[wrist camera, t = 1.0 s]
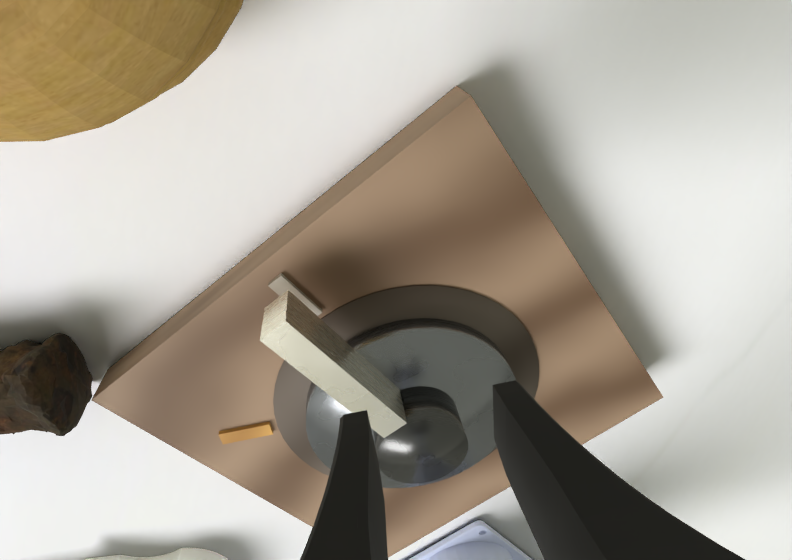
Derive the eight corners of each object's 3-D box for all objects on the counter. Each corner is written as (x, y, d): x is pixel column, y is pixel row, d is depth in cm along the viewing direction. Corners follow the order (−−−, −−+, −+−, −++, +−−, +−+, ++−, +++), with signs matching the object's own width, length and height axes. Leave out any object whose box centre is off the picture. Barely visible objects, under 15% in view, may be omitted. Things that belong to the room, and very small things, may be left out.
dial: (546, 402, 25) (572, 449, 22) (392, 496, 27) (400, 549, 24) (377, 207, 18) (387, 243, 16) (189, 354, 20) (171, 407, 18)
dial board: (642, 372, 28) (665, 399, 26) (373, 533, 32) (377, 567, 31) (456, 85, 19) (472, 96, 17) (108, 369, 23) (89, 403, 21)
